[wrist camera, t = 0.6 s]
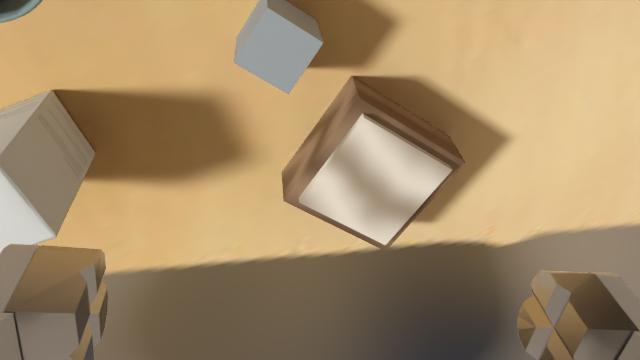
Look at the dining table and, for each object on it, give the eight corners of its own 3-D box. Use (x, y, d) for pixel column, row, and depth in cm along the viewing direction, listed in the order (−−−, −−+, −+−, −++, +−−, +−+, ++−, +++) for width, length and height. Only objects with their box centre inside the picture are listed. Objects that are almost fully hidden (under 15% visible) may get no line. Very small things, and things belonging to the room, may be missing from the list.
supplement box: (-21, 115, 50) (-97, 194, 39) (54, 87, 49) (-3, 160, 38) (29, 180, 54) (-28, 268, 43) (99, 155, 53) (58, 238, 42)
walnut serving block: (351, 75, 51) (361, 102, 46) (449, 136, 55) (467, 166, 50) (281, 172, 56) (284, 205, 51) (376, 221, 60) (387, 256, 55)
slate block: (266, -13, 46) (267, 7, 41) (316, 20, 48) (323, 42, 43) (236, 37, 48) (233, 62, 43) (285, 67, 50) (288, 94, 45)
